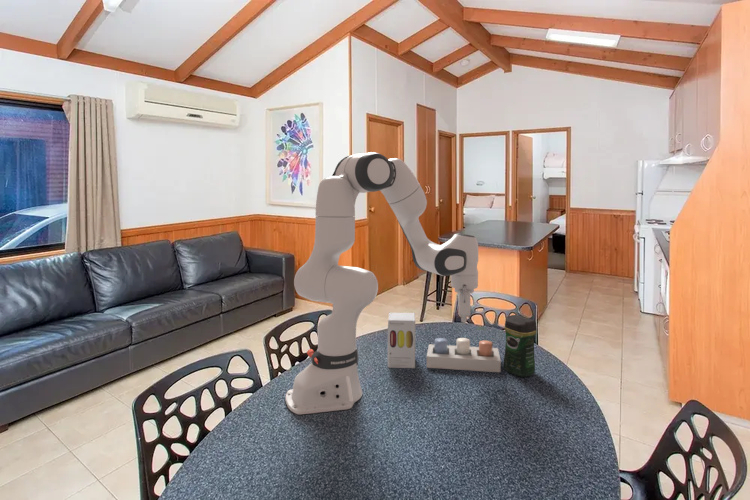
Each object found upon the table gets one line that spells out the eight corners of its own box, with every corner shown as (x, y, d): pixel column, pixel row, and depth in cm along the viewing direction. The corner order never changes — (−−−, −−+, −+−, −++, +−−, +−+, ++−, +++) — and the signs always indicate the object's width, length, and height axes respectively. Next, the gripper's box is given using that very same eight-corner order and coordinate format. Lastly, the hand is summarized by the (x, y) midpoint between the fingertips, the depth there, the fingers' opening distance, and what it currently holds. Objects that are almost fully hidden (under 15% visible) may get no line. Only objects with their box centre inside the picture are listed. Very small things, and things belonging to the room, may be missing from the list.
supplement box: (387, 368, 148) (386, 320, 145) (388, 357, 157) (387, 311, 154) (415, 368, 147) (415, 320, 144) (415, 357, 156) (415, 311, 153)
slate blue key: (434, 353, 150) (434, 342, 149) (434, 348, 154) (434, 337, 153) (447, 354, 149) (447, 343, 148) (447, 349, 153) (447, 338, 153)
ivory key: (456, 353, 148) (456, 342, 148) (456, 348, 153) (456, 337, 152) (469, 354, 147) (469, 342, 147) (469, 349, 152) (469, 338, 151)
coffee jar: (539, 374, 142) (541, 318, 139) (522, 380, 137) (525, 323, 135) (515, 363, 150) (517, 311, 147) (498, 369, 146) (500, 315, 143)
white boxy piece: (426, 367, 148) (426, 356, 147) (428, 354, 158) (428, 344, 158) (500, 372, 143) (500, 360, 142) (497, 358, 154) (497, 348, 153)
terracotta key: (479, 356, 147) (479, 344, 146) (478, 351, 151) (478, 340, 151) (492, 356, 146) (493, 345, 145) (491, 351, 150) (492, 340, 150)
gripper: (475, 289, 135) (474, 332, 138) (473, 275, 155) (472, 312, 158) (454, 289, 137) (453, 331, 139) (455, 274, 156) (454, 311, 159)
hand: (463, 321), depth 148 cm, fingers closed
